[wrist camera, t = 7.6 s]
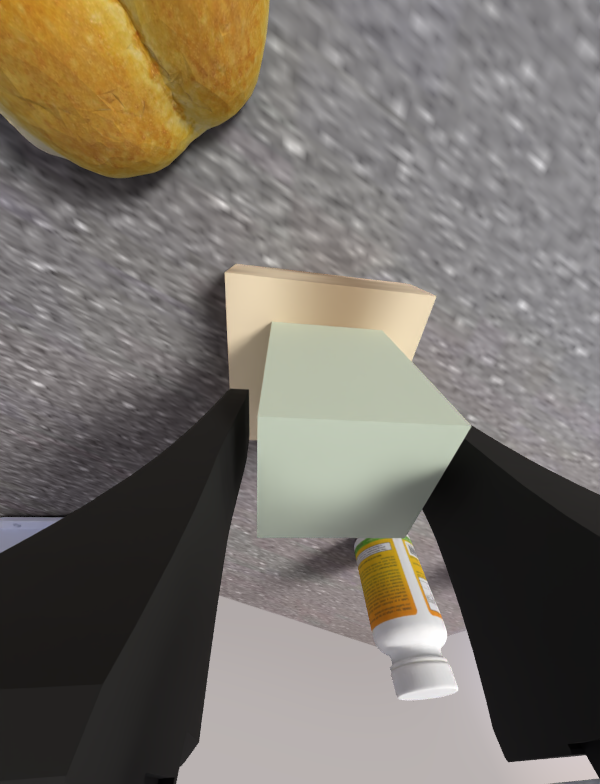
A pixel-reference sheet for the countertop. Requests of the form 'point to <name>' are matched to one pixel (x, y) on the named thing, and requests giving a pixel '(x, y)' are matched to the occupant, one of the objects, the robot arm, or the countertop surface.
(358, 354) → the sage block
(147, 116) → the bread roll
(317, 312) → the beech block
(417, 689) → the supplement bottle
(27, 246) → the countertop surface
